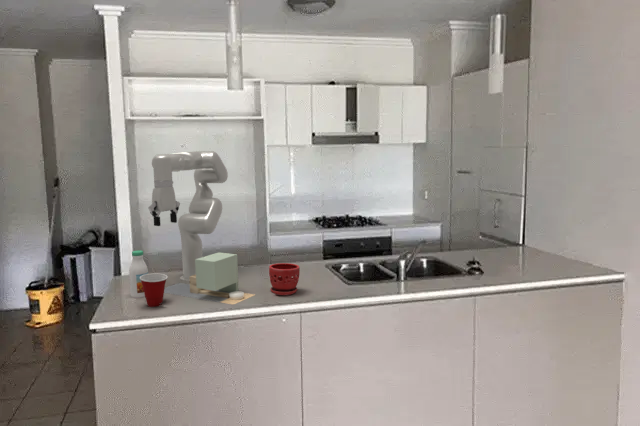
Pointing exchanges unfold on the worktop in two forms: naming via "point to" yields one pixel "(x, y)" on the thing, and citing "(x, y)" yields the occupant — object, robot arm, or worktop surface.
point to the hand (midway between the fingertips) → (165, 224)
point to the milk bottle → (137, 274)
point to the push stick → (203, 291)
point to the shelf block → (217, 272)
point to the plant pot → (284, 278)
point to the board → (185, 291)
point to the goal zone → (237, 300)
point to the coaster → (236, 295)
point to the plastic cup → (154, 288)
